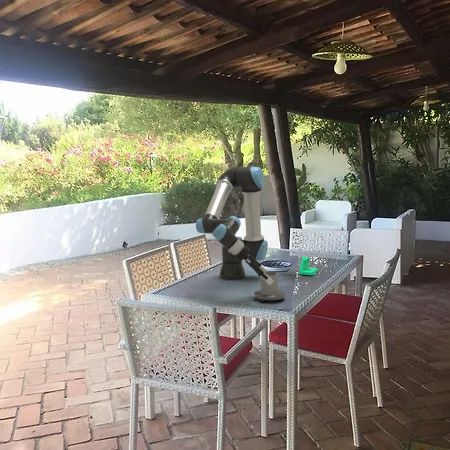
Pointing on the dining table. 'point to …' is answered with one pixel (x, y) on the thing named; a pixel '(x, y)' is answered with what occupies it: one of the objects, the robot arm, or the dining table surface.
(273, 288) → the cup
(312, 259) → the dining table surface
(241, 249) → the robot arm
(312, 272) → the camera mount
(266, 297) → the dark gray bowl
